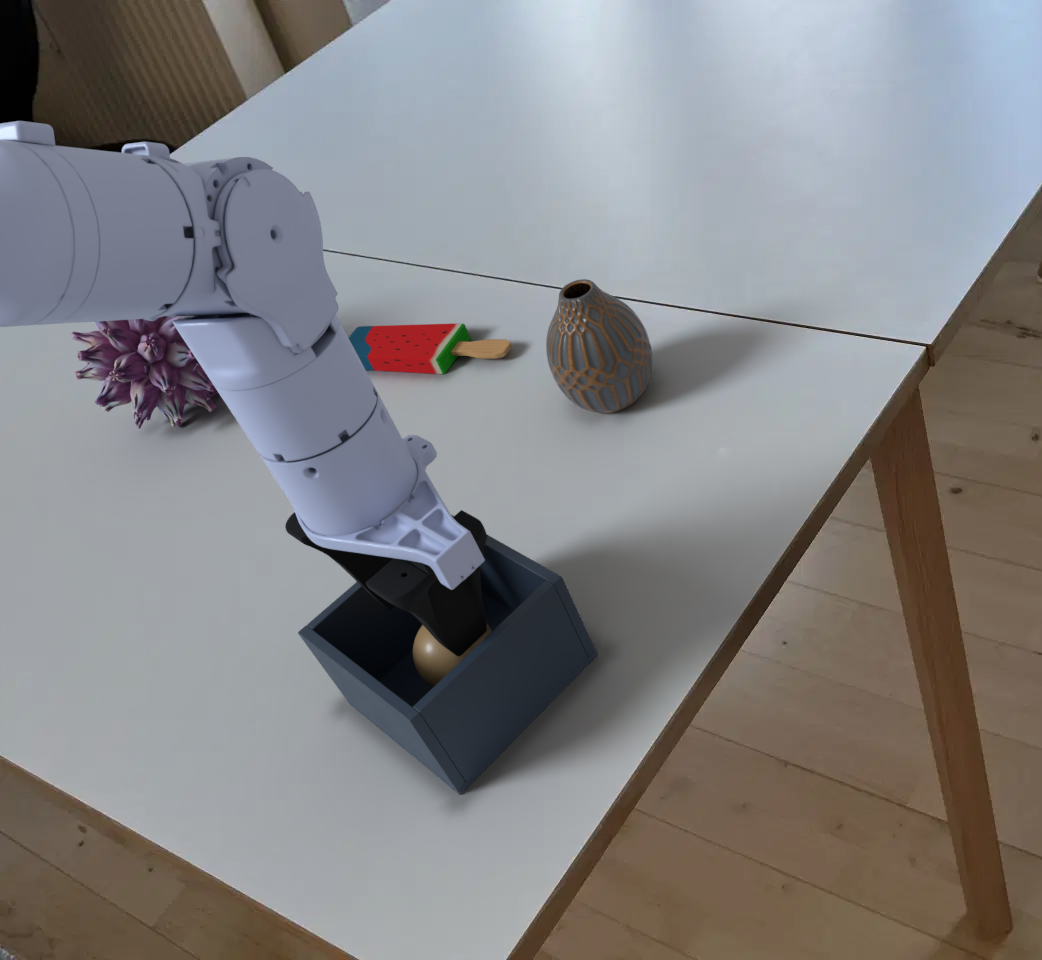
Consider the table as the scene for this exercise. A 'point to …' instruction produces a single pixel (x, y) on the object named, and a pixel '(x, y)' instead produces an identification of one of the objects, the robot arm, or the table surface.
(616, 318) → the vase
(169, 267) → the robot arm
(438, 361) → the popsicle
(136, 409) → the flower
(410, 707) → the bin
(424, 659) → the brown ball
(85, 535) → the table surface
